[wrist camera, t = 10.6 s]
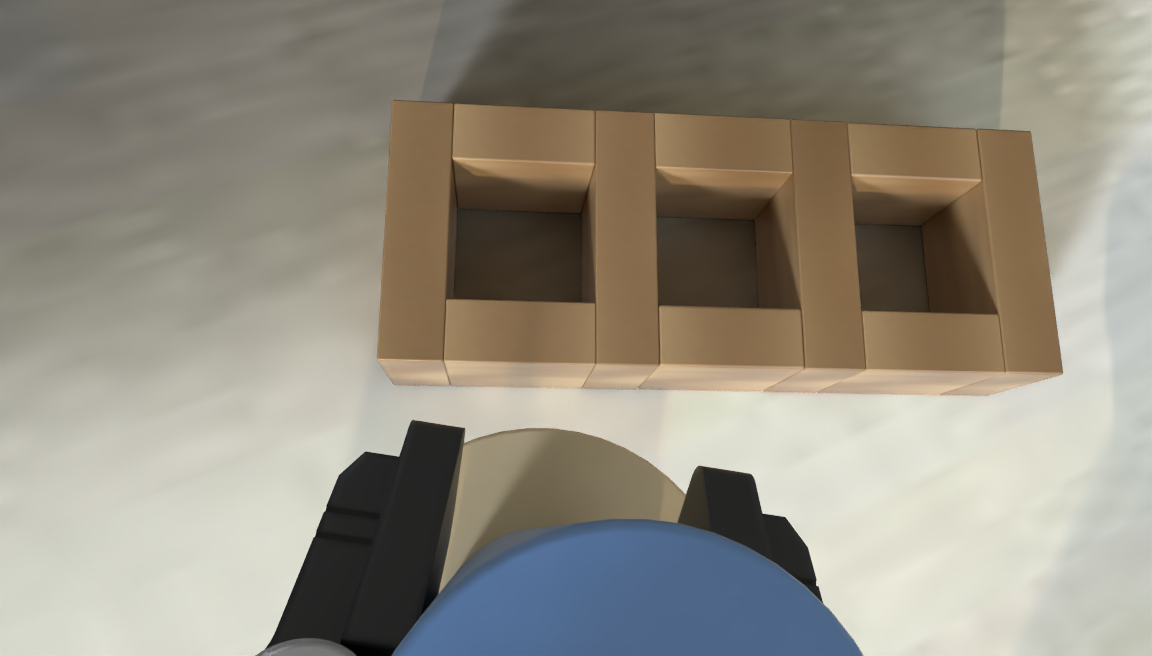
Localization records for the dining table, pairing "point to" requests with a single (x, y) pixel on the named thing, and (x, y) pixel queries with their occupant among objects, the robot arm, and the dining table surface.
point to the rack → (719, 191)
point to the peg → (602, 565)
